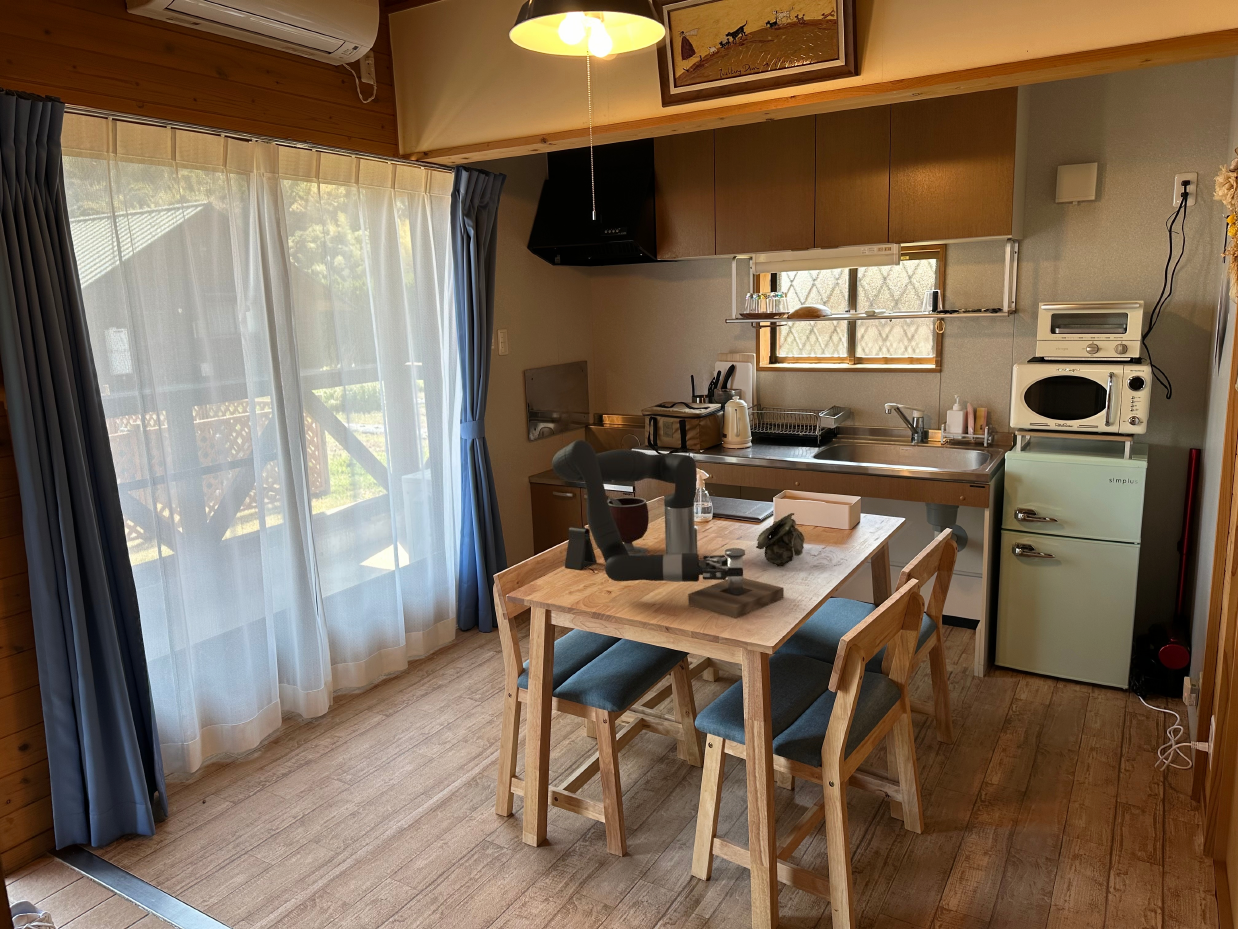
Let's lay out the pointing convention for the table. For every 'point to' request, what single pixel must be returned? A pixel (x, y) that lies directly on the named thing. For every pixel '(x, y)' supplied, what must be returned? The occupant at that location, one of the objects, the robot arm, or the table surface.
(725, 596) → the socket plate
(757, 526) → the table surface
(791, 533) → the camouflage backpack
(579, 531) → the phone stand
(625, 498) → the mate gourd
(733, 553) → the steel pin
